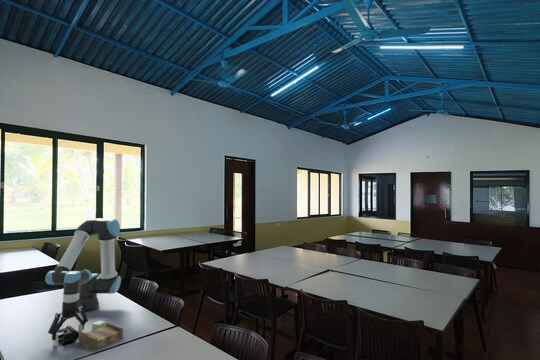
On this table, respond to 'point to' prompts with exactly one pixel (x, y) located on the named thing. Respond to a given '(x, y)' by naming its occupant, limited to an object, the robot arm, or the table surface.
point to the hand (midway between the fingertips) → (67, 340)
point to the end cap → (67, 336)
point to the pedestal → (101, 336)
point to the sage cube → (98, 325)
